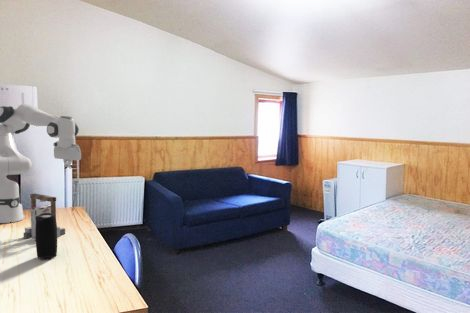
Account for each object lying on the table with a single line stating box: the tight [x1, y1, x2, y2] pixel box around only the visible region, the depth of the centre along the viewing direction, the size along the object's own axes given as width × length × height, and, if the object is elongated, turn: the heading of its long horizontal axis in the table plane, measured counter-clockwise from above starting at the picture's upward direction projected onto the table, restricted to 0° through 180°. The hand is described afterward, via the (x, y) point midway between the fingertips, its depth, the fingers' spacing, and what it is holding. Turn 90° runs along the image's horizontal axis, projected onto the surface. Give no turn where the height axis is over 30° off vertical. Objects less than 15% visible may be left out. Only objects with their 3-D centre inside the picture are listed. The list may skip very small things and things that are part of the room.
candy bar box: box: [29, 203, 51, 240], centre depth 191 cm, size 11×5×16 cm, turn 151°
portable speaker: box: [35, 213, 58, 261], centre depth 162 cm, size 9×9×20 cm
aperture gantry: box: [29, 193, 57, 215], centre depth 191 cm, size 18×3×22 cm, turn 62°
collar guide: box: [23, 226, 66, 243], centre depth 192 cm, size 14×16×5 cm
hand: (67, 167), depth 214 cm, fingers closed
